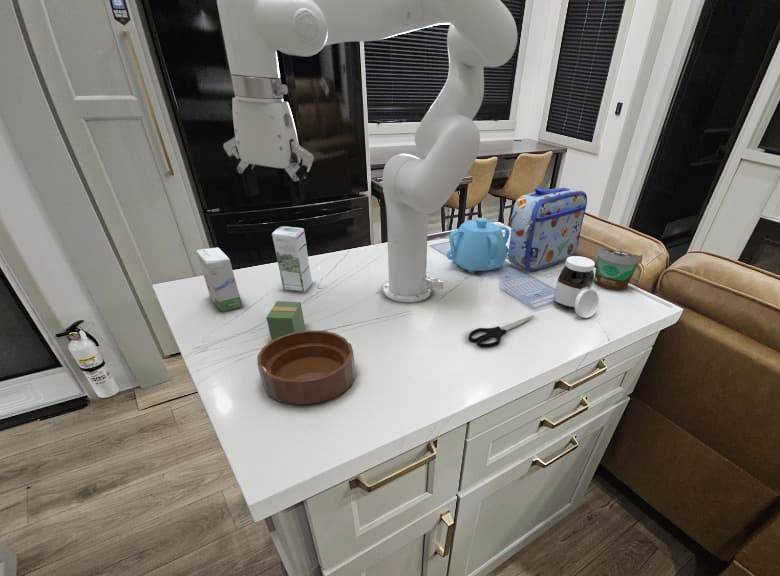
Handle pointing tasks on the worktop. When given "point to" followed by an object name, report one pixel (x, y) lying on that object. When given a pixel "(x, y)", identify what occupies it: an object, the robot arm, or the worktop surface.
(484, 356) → the worktop surface
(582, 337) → the worktop surface
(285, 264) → the syrup box
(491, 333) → the scissors
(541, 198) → the lunch box
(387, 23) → the robot arm
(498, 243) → the decorative pot
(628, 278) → the food container
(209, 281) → the ink box
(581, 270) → the spread jar
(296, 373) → the bowl
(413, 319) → the worktop surface
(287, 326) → the package
